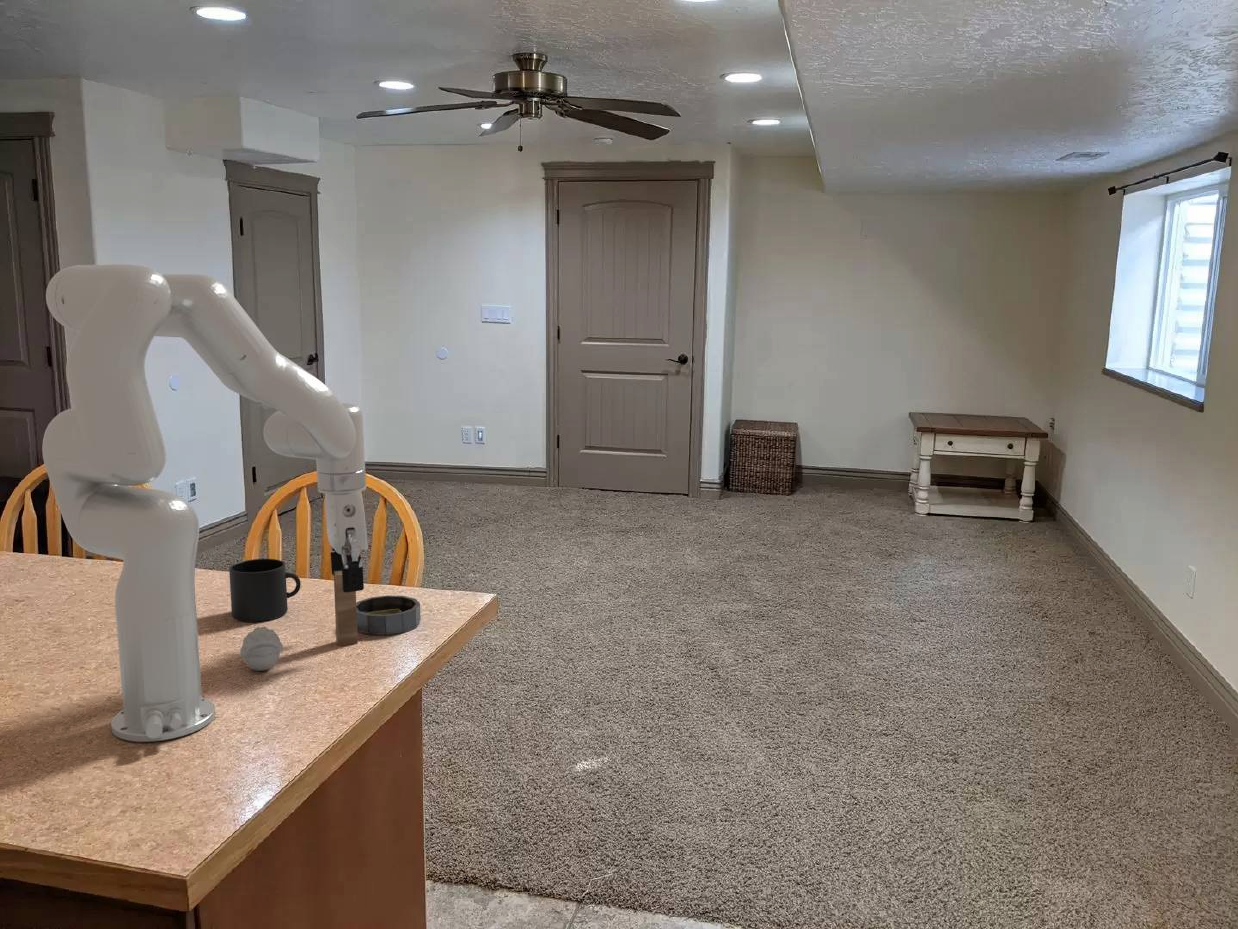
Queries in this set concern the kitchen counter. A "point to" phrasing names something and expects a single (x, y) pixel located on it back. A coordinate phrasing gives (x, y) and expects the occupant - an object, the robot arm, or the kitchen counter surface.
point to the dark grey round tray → (387, 615)
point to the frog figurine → (261, 648)
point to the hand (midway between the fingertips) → (347, 582)
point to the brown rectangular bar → (345, 613)
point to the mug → (260, 589)
